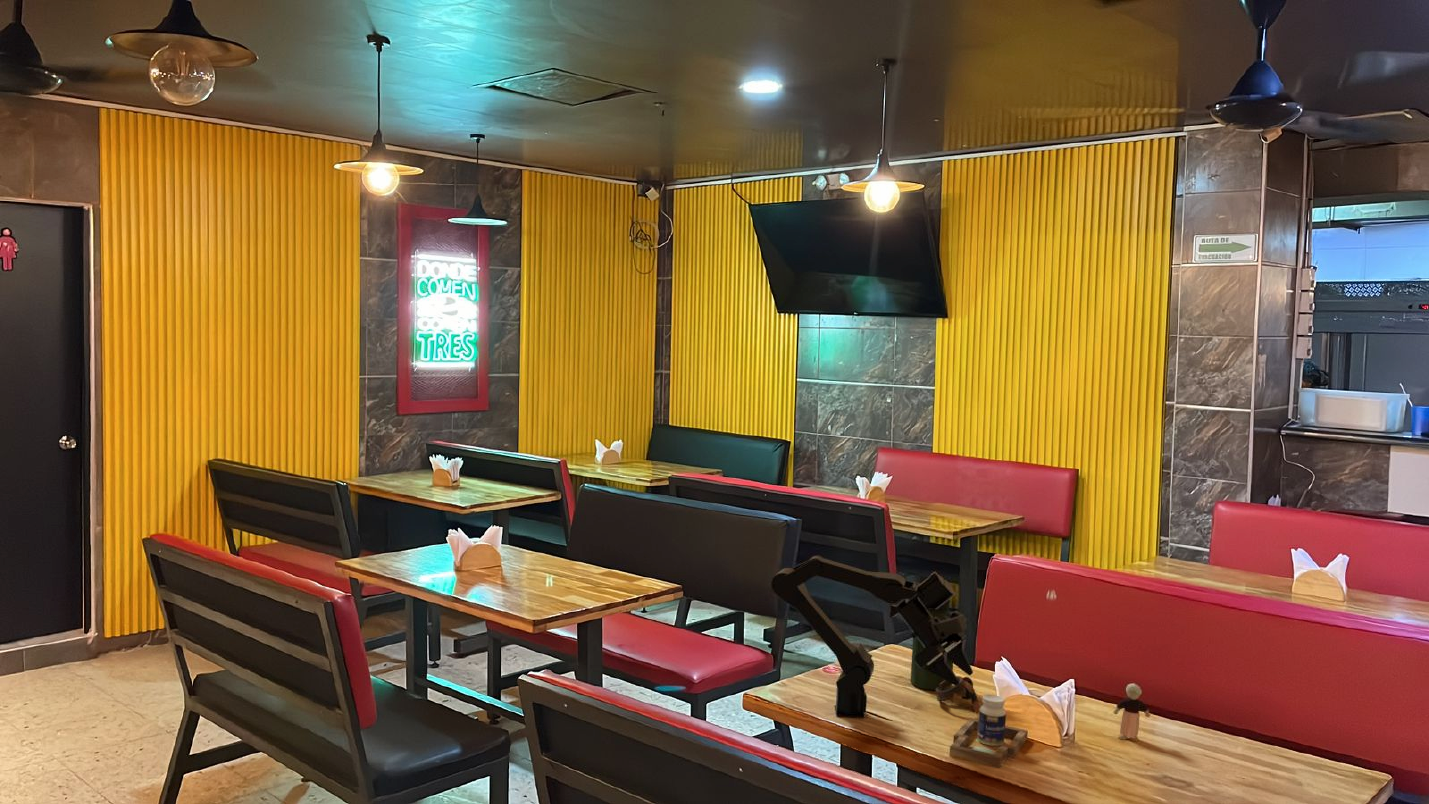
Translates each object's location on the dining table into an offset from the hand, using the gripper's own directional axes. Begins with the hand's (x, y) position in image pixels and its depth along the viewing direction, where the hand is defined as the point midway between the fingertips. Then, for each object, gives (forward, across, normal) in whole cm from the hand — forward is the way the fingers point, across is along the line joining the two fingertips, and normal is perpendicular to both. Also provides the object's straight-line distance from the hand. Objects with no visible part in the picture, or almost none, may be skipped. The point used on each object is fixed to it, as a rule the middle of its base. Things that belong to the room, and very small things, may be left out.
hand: (964, 679), depth 238 cm
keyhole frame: (+14, -4, +4) cm, 15 cm away
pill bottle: (+14, 0, +4) cm, 14 cm away
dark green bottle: (-4, +28, +22) cm, 36 cm away
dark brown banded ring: (+4, +18, +14) cm, 23 cm away
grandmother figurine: (+32, +22, -13) cm, 41 cm away
